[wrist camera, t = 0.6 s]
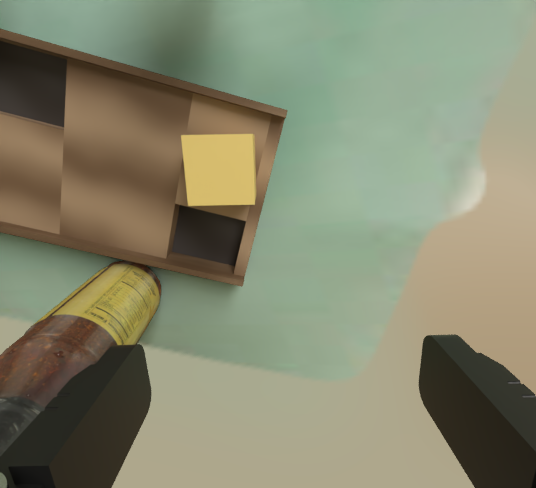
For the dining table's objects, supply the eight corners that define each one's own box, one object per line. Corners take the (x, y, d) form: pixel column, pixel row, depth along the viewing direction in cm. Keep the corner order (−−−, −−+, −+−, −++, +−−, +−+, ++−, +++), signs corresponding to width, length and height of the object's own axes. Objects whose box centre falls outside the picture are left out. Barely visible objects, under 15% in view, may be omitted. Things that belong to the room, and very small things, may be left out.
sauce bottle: (115, 320, 31) (-121, 604, 12) (89, 264, 29) (-243, 498, 10) (177, 306, 30) (35, 577, 11) (155, 249, 28) (-59, 461, 9)
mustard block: (195, 136, 23) (180, 135, 19) (254, 135, 23) (252, 133, 19) (201, 194, 25) (188, 206, 20) (256, 193, 25) (254, 204, 21)
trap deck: (-86, 9, 22) (-169, -23, 18) (284, 114, 25) (289, 108, 20) (-68, 200, 27) (-132, 212, 22) (244, 272, 29) (241, 294, 25)
